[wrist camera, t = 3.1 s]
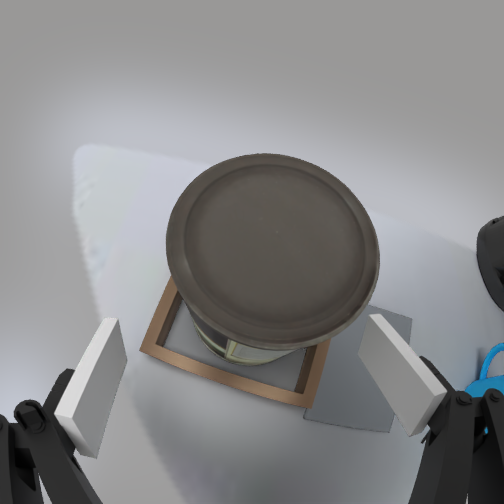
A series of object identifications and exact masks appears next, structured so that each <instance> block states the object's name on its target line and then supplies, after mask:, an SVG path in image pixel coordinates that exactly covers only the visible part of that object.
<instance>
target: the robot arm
mask: <svg viewBox="0 0 504 504" xmlns="http://www.w3.org/2000/svg"><path fill="white" fill-rule="evenodd" d="M477 256H478V262H479V266H480V270H481V273H482V276H483V279H484V281H485V284H486V286H487V288H488V290H489V292H490V294H491V296H492V297H493V299H494V300H495V302H496V303H497V304H498V306H499V307H500V308H501V309H502V310H504V216H502V217H499V218H495V219H493V220H491V221H489V222H488V223H487V224H486V225H485V226H483V227H482V228H481V229H480V231H479V233H478V237H477ZM358 355H359V357H360V358H361V360H362V362H363V363H364V365H365V366H366V368H367V369H368V371H369V373H370V374H371V376H372V377H373V379H374V381H375V382H376V384H377V385H378V387H379V388H380V390H381V392H382V393H383V395H384V396H385V398H386V400H387V401H388V403H389V405H390V406H391V408H392V409H393V411H394V413H395V414H396V416H397V418H398V419H399V421H400V423H401V424H402V426H403V428H404V429H405V431H406V433H407V434H408V436H409V437H411V436H413V435H416V434H419V433H421V432H422V431H423V430H424V428H425V427H426V425H427V424H428V426H429V427H430V430H429V431H428V433H427V434H426V435H425V437H424V438H423V440H422V441H421V443H422V444H423V442H424V441H425V440H426V443H425V448H424V452H423V456H422V460H421V464H420V467H419V471H418V475H417V478H416V481H415V485H414V488H413V491H412V494H411V497H410V500H409V503H408V504H466V499H467V493H468V504H504V395H503V393H502V392H500V391H499V390H497V389H495V388H489V389H487V390H486V391H485V393H484V395H483V396H482V397H472V396H471V395H470V394H468V393H467V392H464V391H455V390H454V388H453V387H452V386H451V385H450V384H449V383H448V381H447V380H446V379H445V378H444V377H443V375H442V374H440V372H439V371H438V370H437V369H436V367H435V366H434V365H433V364H432V363H431V362H430V361H429V360H427V359H426V358H424V357H423V356H420V357H418V356H417V354H416V353H415V352H414V351H413V350H412V349H411V348H410V346H409V345H408V344H407V343H406V342H405V341H404V340H403V338H402V337H401V336H400V335H399V334H398V333H397V332H396V331H395V329H394V328H393V327H392V326H391V325H390V324H389V323H388V322H387V321H386V319H385V318H384V317H383V316H382V315H381V314H372V315H369V316H368V320H367V323H366V327H365V331H364V334H363V338H362V342H361V345H360V348H359V352H358ZM127 361H128V360H127V356H126V352H125V348H124V344H123V339H122V335H121V330H120V325H119V320H118V319H117V318H104V320H103V321H102V323H101V325H100V327H99V328H98V330H97V332H96V333H95V335H94V337H93V339H92V341H91V342H90V344H89V346H88V348H87V350H86V351H85V353H84V355H83V357H82V359H81V361H80V363H79V364H78V366H77V368H76V370H73V369H66V370H65V371H64V372H62V373H61V374H60V375H59V377H58V379H57V380H56V382H55V385H54V386H53V388H52V391H50V393H49V395H48V397H47V399H46V401H45V403H44V405H43V407H42V406H41V405H40V403H38V402H37V401H35V400H24V401H23V402H21V403H19V404H18V405H17V406H16V408H15V410H14V418H15V419H16V420H17V422H18V423H9V422H8V421H7V419H6V418H5V417H4V416H3V415H1V414H0V504H44V502H43V497H42V492H41V487H40V481H39V476H40V478H41V480H42V483H43V485H44V487H45V489H46V491H47V494H48V496H49V498H50V500H51V502H52V504H103V503H102V502H101V500H100V499H99V497H98V496H97V494H96V493H95V491H94V489H93V488H92V486H91V485H90V483H89V481H88V479H87V478H86V476H85V474H84V473H83V471H82V469H81V468H80V465H79V464H78V462H77V460H76V458H75V457H74V455H73V454H74V450H75V448H76V449H77V451H78V452H79V453H80V455H83V456H88V457H92V458H97V456H98V452H99V449H100V445H101V441H102V438H103V434H104V431H105V428H106V424H107V421H108V418H109V414H110V411H111V408H112V405H113V402H114V399H115V396H116V392H117V389H118V386H119V384H120V381H121V378H122V375H123V372H124V369H125V366H126V363H127ZM486 428H487V430H488V433H487V434H486V433H485V429H486ZM38 473H39V474H38Z"/></svg>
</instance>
